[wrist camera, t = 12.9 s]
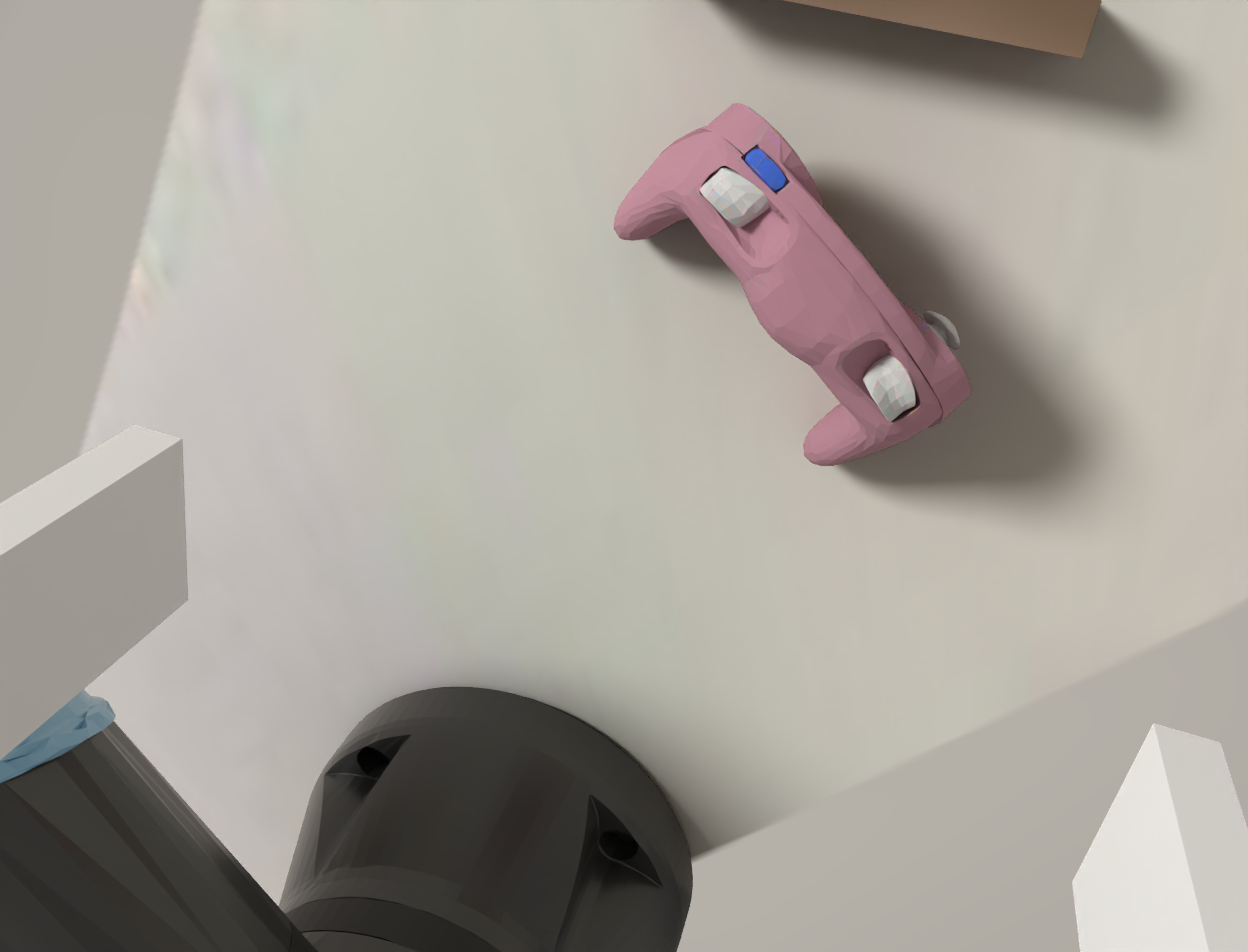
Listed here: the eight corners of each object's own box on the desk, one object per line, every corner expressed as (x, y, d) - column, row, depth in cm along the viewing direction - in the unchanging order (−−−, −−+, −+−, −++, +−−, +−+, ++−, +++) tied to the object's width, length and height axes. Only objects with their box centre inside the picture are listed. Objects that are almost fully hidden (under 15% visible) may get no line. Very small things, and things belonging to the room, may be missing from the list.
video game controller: (931, 372, 33) (1037, 387, 26) (814, 473, 33) (888, 515, 26) (717, 108, 31) (769, 47, 24) (595, 216, 31) (612, 187, 24)
